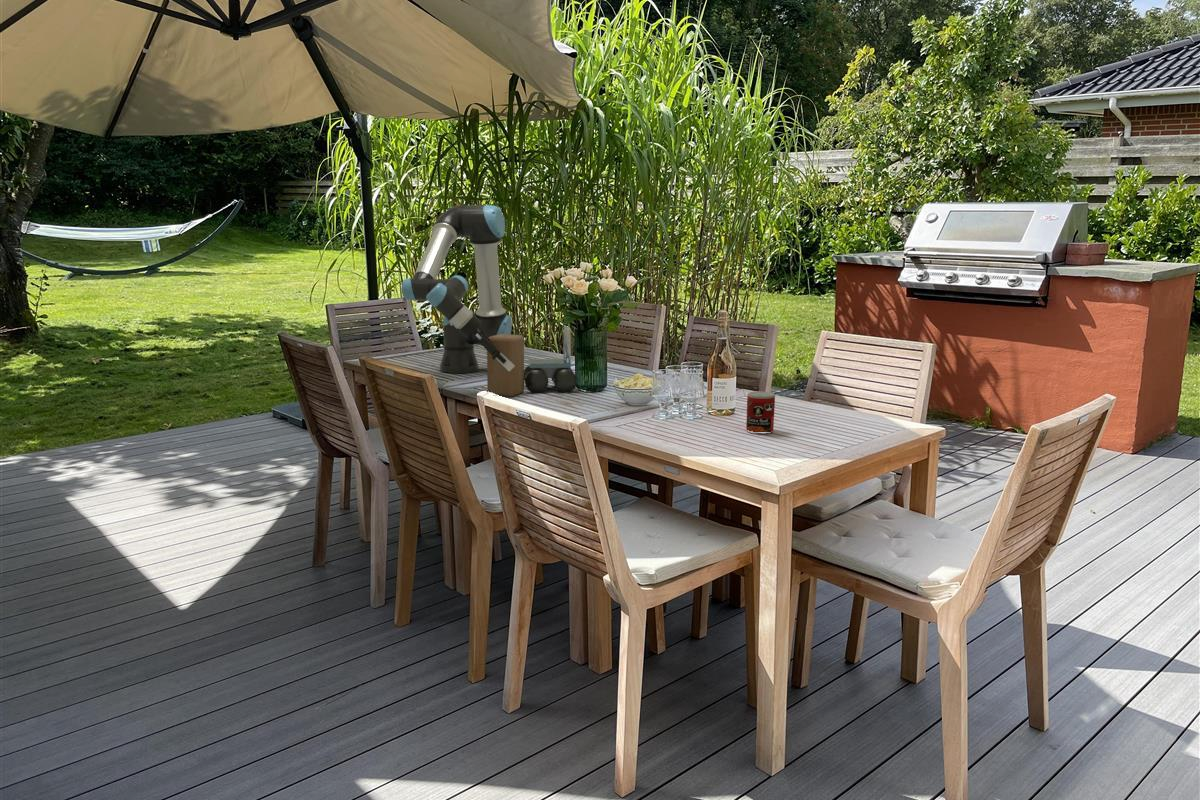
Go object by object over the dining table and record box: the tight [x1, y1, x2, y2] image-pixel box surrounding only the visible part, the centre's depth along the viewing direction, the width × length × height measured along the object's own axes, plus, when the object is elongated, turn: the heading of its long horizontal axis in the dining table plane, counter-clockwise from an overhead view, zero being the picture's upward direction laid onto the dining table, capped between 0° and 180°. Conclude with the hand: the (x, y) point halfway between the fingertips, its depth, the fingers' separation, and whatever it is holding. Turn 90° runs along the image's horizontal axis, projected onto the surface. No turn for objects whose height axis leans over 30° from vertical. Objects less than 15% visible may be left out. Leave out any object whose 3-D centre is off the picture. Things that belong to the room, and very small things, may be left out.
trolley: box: [524, 324, 578, 394], centre depth 322 cm, size 14×18×25 cm
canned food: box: [745, 390, 776, 432], centre depth 261 cm, size 8×8×11 cm
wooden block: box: [486, 334, 525, 398], centre depth 314 cm, size 10×10×20 cm
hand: (511, 365), depth 314 cm, fingers closed on wooden block, 13 cm apart
